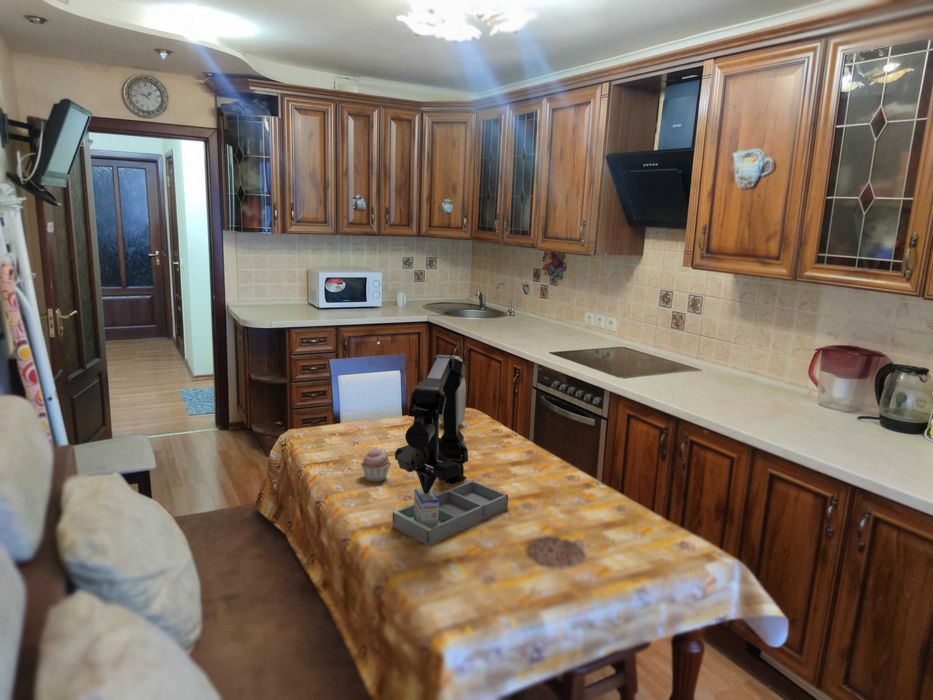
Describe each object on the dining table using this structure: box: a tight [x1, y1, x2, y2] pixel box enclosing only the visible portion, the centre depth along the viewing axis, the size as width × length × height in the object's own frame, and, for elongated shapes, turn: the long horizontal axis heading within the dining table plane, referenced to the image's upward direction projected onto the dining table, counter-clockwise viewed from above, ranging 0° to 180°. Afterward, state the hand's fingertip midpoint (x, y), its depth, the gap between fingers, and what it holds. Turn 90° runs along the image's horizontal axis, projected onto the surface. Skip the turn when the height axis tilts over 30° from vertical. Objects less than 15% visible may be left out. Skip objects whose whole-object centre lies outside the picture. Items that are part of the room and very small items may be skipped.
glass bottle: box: [439, 354, 467, 427], centre depth 240 cm, size 10×10×28 cm
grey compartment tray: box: [392, 480, 509, 547], centre depth 169 cm, size 14×30×4 cm, turn 136°
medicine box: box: [413, 487, 439, 528], centre depth 162 cm, size 8×4×9 cm, turn 20°
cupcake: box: [360, 446, 392, 483], centre depth 192 cm, size 9×9×10 cm
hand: (426, 492), depth 161 cm, fingers closed
